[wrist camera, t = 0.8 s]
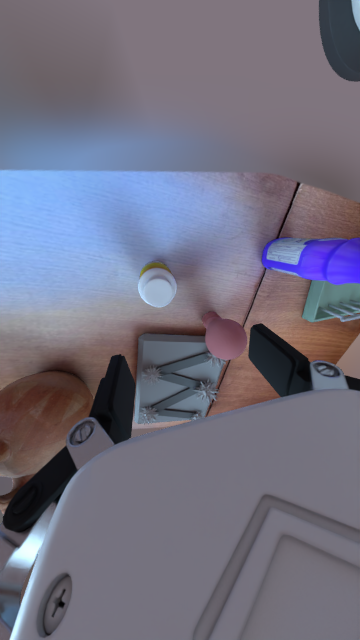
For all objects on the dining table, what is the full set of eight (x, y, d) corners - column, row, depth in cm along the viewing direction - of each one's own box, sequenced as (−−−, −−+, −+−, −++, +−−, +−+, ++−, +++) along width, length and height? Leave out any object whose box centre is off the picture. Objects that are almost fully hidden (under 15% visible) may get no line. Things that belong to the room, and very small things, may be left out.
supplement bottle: (135, 266, 28) (129, 279, 20) (165, 256, 29) (172, 265, 20) (147, 294, 31) (146, 318, 22) (174, 285, 31) (184, 305, 22)
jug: (111, 405, 43) (85, 520, 26) (38, 420, 41) (-44, 555, 24) (87, 351, 35) (24, 468, 17) (-7, 366, 32) (-188, 517, 15)
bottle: (296, 236, 31) (440, 235, 16) (288, 267, 34) (405, 291, 18) (261, 238, 30) (378, 239, 15) (256, 269, 33) (351, 298, 17)
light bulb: (223, 329, 38) (252, 364, 28) (194, 333, 37) (212, 371, 27) (226, 301, 35) (259, 329, 24) (194, 305, 34) (214, 335, 23)
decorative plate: (139, 330, 34) (137, 350, 28) (230, 334, 39) (245, 352, 33) (134, 417, 47) (132, 445, 41) (203, 413, 52) (210, 437, 46)
